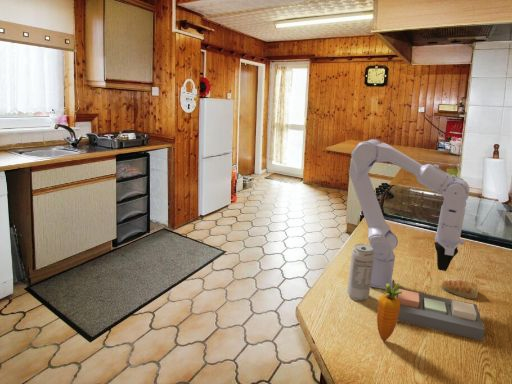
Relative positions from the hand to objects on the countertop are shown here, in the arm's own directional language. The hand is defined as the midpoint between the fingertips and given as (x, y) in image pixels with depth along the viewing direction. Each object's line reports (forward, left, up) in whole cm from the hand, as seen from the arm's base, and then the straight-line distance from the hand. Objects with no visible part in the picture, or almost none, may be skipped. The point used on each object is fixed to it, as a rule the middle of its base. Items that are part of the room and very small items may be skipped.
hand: (441, 269), depth 102 cm
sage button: (-1, -10, -9) cm, 13 cm away
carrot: (-13, -26, -10) cm, 31 cm away
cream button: (+5, -10, -8) cm, 14 cm away
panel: (-2, -10, -9) cm, 14 cm away
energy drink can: (-21, -8, -10) cm, 24 cm away
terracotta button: (-8, -10, -8) cm, 15 cm away
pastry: (+7, +8, -10) cm, 15 cm away
